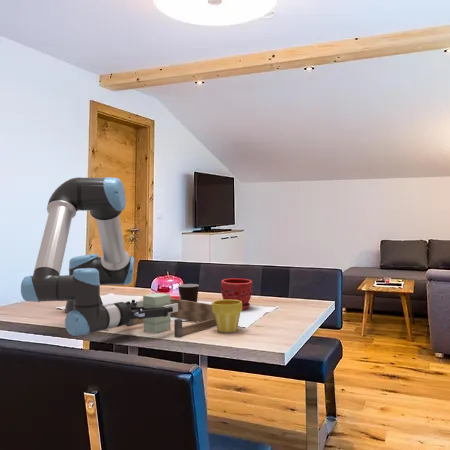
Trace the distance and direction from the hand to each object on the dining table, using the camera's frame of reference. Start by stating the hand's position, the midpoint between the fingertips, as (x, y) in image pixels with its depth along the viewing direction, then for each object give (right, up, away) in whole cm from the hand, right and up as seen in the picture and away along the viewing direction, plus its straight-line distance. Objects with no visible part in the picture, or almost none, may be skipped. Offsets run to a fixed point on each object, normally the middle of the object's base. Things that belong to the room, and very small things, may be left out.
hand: (163, 304), depth 161 cm
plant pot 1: (+27, -7, +32) cm, 43 cm away
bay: (+3, -8, +3) cm, 9 cm away
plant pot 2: (+22, -8, -4) cm, 24 cm away
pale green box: (-2, -8, -3) cm, 9 cm away
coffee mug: (+7, -7, +33) cm, 35 cm away
